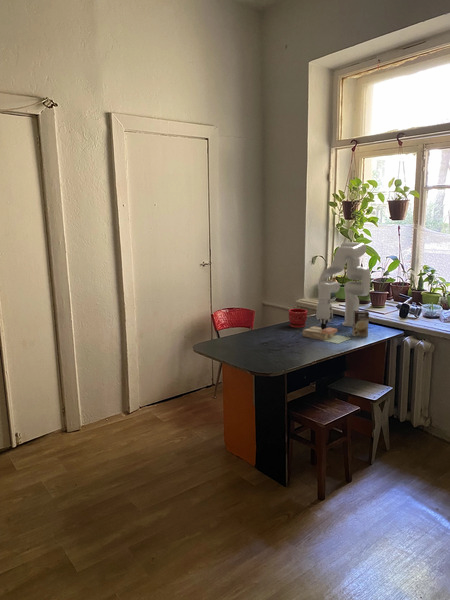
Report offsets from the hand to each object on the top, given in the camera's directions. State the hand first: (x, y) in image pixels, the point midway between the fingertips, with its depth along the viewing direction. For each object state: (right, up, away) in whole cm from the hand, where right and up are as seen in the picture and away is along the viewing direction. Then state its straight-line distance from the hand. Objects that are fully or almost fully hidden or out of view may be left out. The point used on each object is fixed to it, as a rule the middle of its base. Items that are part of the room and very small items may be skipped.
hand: (323, 329), depth 289 cm
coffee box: (+24, -4, +3) cm, 25 cm away
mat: (+7, -6, -6) cm, 11 cm away
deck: (-2, -5, +4) cm, 6 cm away
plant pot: (-12, 0, +29) cm, 32 cm away
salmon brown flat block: (+3, -2, -3) cm, 5 cm away
